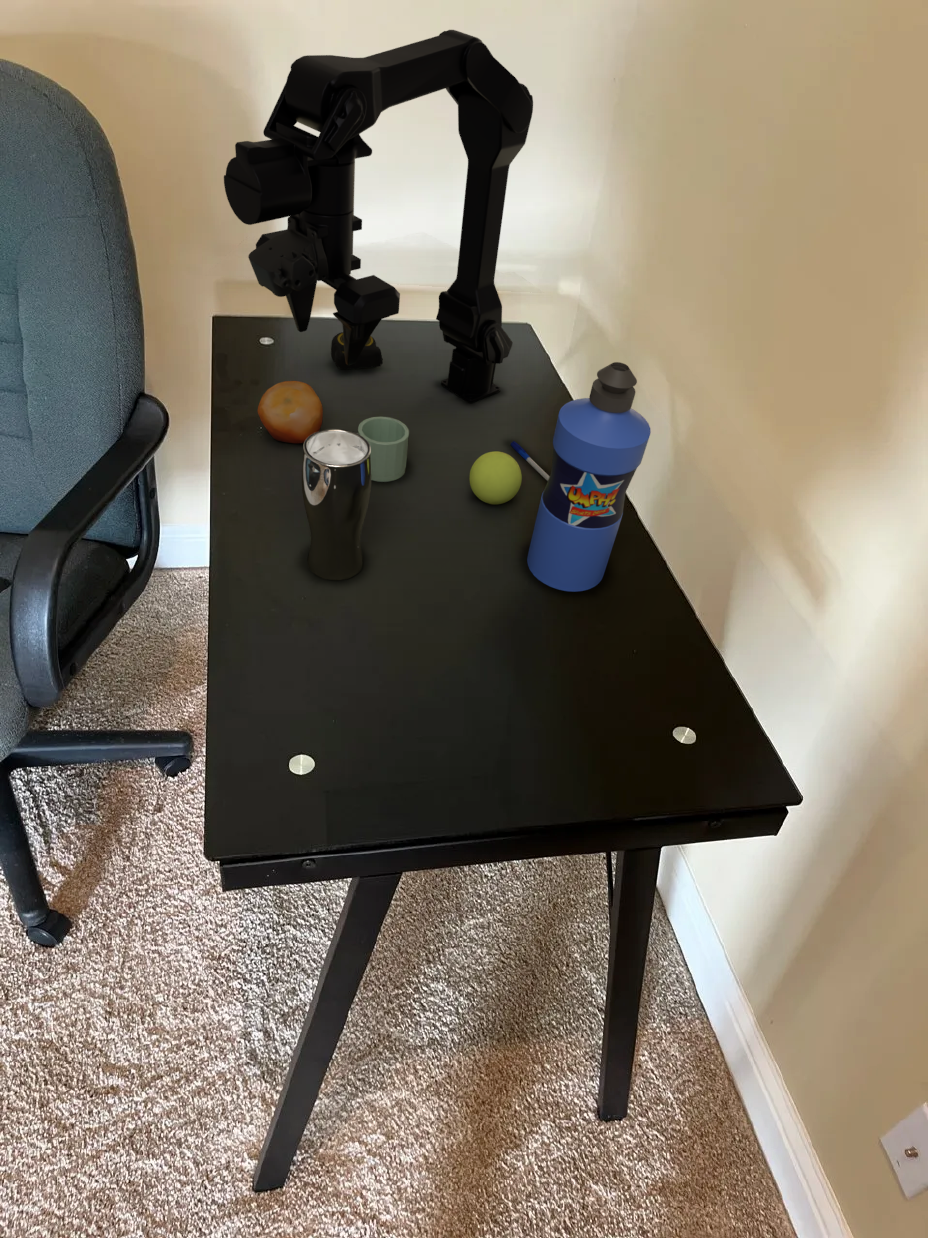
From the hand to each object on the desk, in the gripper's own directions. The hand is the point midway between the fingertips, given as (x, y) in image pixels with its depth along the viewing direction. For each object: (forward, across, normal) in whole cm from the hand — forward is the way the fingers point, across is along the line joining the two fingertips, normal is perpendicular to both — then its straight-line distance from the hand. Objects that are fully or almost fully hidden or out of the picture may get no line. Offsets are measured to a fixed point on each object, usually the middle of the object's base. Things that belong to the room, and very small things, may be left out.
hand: (325, 346), depth 96 cm
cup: (+14, +7, +4) cm, 16 cm away
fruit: (+14, -5, -2) cm, 15 cm away
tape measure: (+15, -15, +17) cm, 27 cm away
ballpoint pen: (+15, +18, +21) cm, 31 cm away
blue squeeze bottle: (+14, +34, +9) cm, 38 cm away
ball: (+11, +20, +11) cm, 25 cm away
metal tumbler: (+14, +18, -12) cm, 26 cm away
